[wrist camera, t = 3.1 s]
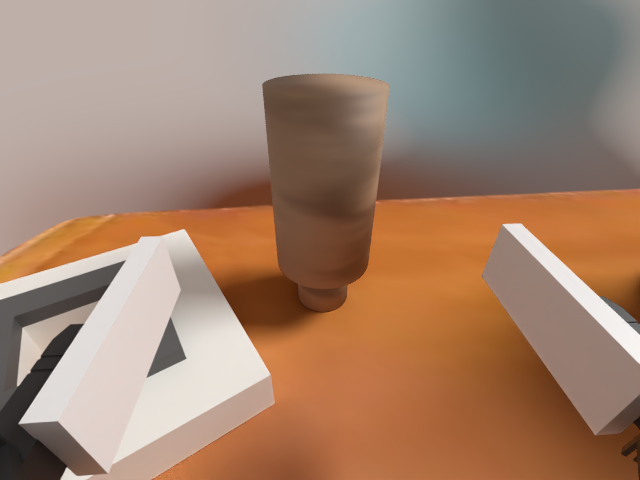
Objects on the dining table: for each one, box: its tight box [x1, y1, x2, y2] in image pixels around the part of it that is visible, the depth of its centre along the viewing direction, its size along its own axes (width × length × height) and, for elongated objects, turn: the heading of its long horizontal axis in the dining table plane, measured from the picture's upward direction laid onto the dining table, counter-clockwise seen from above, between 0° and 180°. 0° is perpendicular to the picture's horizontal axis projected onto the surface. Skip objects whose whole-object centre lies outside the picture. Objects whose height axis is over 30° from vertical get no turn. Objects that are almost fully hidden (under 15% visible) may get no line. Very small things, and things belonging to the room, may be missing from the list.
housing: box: [0, 229, 275, 480], centre depth 20 cm, size 17×17×4 cm
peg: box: [263, 74, 390, 312], centre depth 22 cm, size 7×7×16 cm
